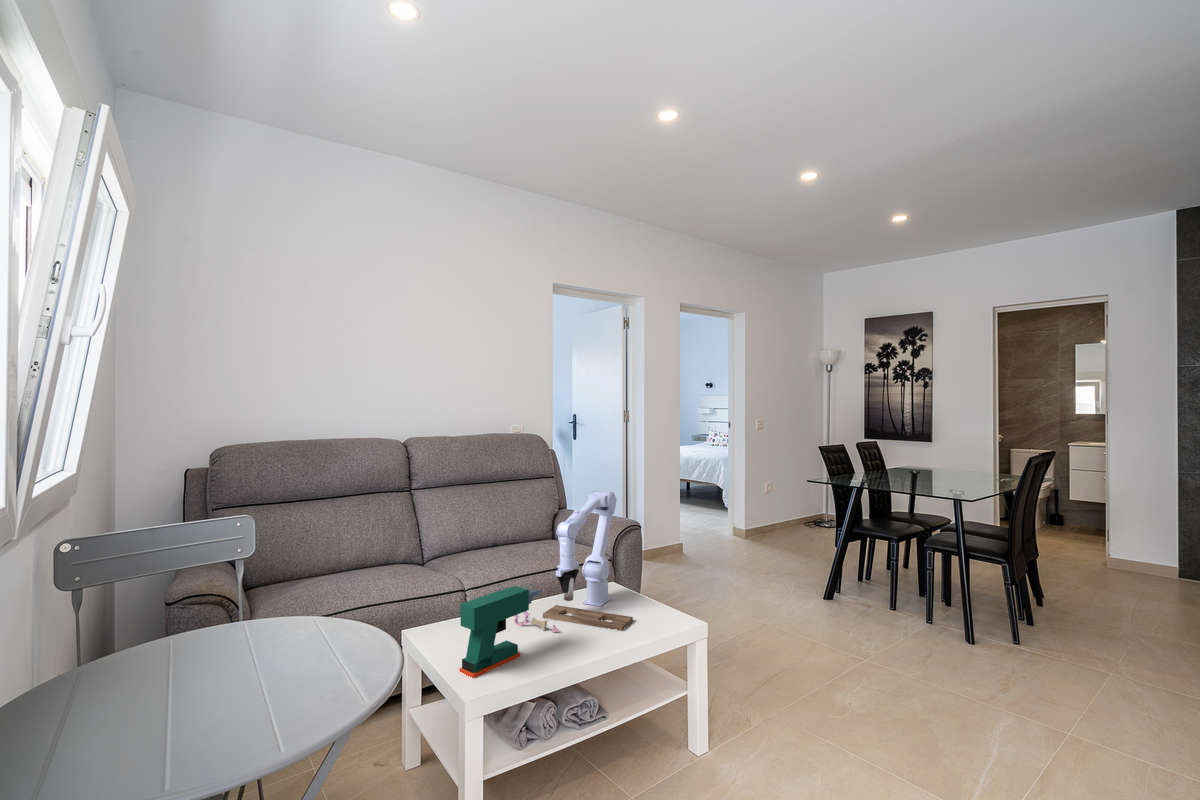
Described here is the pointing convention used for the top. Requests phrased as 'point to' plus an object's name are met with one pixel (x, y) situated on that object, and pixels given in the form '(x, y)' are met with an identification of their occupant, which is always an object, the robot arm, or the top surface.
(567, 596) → the steel rod
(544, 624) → the decorative key
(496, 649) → the power tool
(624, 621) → the walnut board
